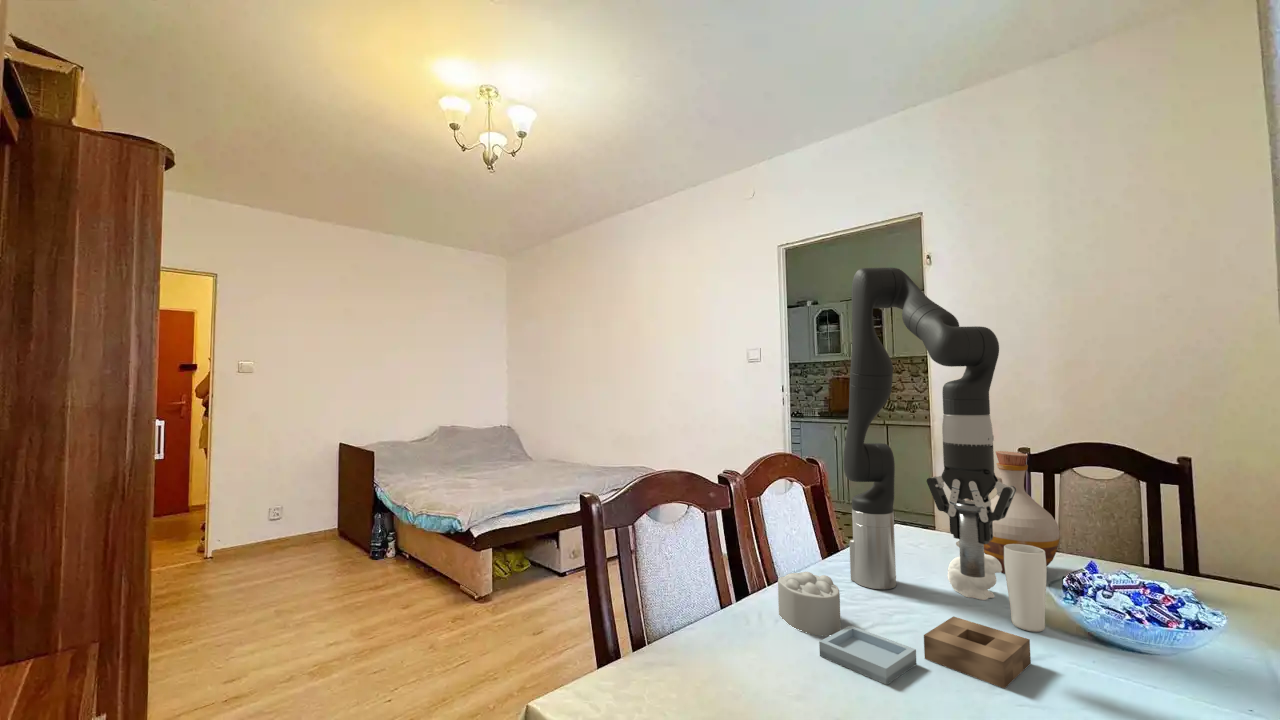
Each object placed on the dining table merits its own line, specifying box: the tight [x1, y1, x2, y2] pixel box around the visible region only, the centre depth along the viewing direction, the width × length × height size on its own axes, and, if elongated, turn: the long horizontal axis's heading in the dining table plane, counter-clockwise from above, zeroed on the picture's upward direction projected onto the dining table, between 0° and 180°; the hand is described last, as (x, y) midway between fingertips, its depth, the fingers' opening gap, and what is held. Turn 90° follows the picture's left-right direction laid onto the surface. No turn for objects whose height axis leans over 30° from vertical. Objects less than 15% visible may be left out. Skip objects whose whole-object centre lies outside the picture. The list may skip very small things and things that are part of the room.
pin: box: [954, 500, 985, 578], centre depth 93 cm, size 5×5×12 cm
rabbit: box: [947, 540, 1002, 601], centre depth 122 cm, size 12×9×12 cm
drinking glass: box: [1004, 544, 1048, 633], centre depth 105 cm, size 7×7×15 cm
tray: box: [818, 625, 917, 686], centre depth 92 cm, size 12×10×2 cm
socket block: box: [923, 616, 1032, 689], centre depth 92 cm, size 12×12×4 cm
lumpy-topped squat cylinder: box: [777, 571, 842, 637], centre depth 108 cm, size 10×13×9 cm
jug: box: [965, 450, 1061, 575], centre depth 136 cm, size 20×18×30 cm
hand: (971, 540), depth 93 cm, fingers closed on pin, 3 cm apart
